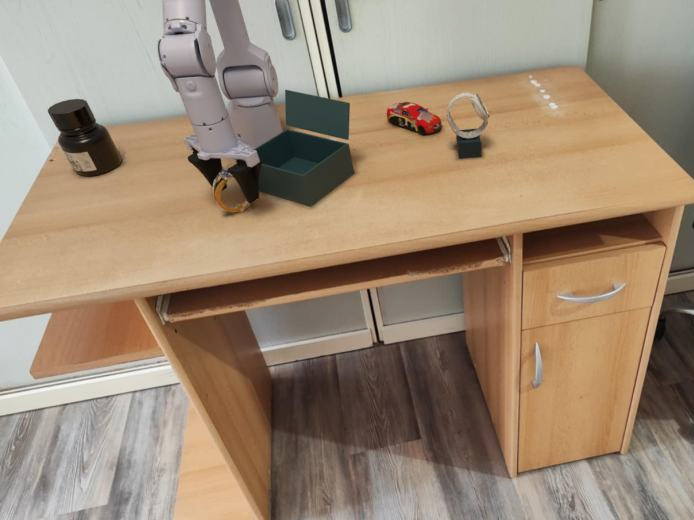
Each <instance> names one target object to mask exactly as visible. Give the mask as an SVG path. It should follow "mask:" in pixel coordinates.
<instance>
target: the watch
mask: <svg viewBox="0 0 694 520" xmlns="http://www.w3.org/2000/svg"><path fill="white" fill-rule="evenodd" d="M466 99H467V100H469V101H470V102H471V105H472V107H473V109H474V111H475V112H476V114H477V116H478V117H479V119H480V120H482V121H483V122H482V123H481V124H480V126H479V127H478V128H467V129H460V128H459V126H458V125H457V124H456V122H455V121H454V118H453V117H452V115H451V109H452V108H453V106H454V105H455V104H456V103H458V102H459V101H461V100H462V101H463V100H466ZM489 119H490V113H489V111H488V109H487V107H486V105H485V102H484V101H483V99H482V98H481V97H480V95H479V94H478V93H477V92H476V93H473V92H471V91H462V92H459V93H457V94H456V95H453V96H452V97H451V99H450V100H449V102H448V103H447V107H446V120H447V123H448V125H449V127H450V129H451V130H452V132H453V133H454V134H455V137H456V151H457V155H458V159H459V160H460V159H461V160H462V159H473V158H482V141H481V140H482V139H481V136H480V135H482V134H483V133H484V132H485V131H486V129H487V127H488V125H489Z"/></svg>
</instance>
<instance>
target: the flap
mask: <svg viewBox="0 0 694 520" xmlns="http://www.w3.org/2000/svg"><path fill="white" fill-rule="evenodd" d="M284 99H285V100H284V102H285V103H284V105H285V106H284V107H285V109H284V110H285V111H284V112H285V113H284V114H285V126H287V127H291V128H294V129H300V130H305V131H308V132H312V133H315V134H320V135H324V136H329V137H332V138H337V139H342V140H345V141H349V140H350V115H351V114H350V112H351V111H350V110H351V109H350V108H351V103H350V102H348V101H342V100H337V99H332V98H329V97H324V96H319V95H313V94H308V93H304V92H300V91H294V90H290V89H284Z"/></svg>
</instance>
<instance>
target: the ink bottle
mask: <svg viewBox="0 0 694 520" xmlns="http://www.w3.org/2000/svg"><path fill="white" fill-rule="evenodd" d="M47 113H48V115H49V117H50V118H51V121H52V122H53V125H54V126H55V128H56V129H57V131H58V132H59V136H58V138H57V142H58V144H59V146H60V148H61V150H62V152H63V153H64V155H65V157H66V159H67V160H68V163H69V164H70V166H71V167H72V170H73V171H74V172H75V173H76V174H78V175H80V176H87V177H89V176H98V175H102V174H103V173H106V172H109V171H111V170H113V169H115V168H117V167H118V166H119V165H120V164H121V162H122V156H121V155H120V151H119V150H118V148H117V146H116V144H115V142H114V140H113V138H112V136H111V133H110V132H109V130H108V129H107V128H106V127H105V126H104V125H102V124H99V123H98V122H97V120H96V119H97V118H96V117H95V115H94V112H93V111H92V109H91V107H90V104H89V103H88V101H87V100H86V99H83V98H72V99H71V98H70V99H66V100H62V101H59V102H56V103H54V104H53V105H51V106H49V108H47Z"/></svg>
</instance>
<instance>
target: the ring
mask: <svg viewBox="0 0 694 520" xmlns="http://www.w3.org/2000/svg"><path fill="white" fill-rule="evenodd" d="M232 166H233V165H232ZM232 166H230V167H232ZM230 167H229V166H226V168H225V167H223V166H222V170H221V171H220V172H219V173H218V174H217V176H216V177H215V179H214V182H213V188H212V196H213V199H214V200H215V202H216V203H217V205H218V206H219V207H220V208H221V209H222V210H224V211H226V212H229V213H236V212H237V213H238V212H239V213H242V212H244V211H245V209H247V208H248V207H250V205H251V204H252V203H248V202H247V200H246V199H245V201H243V203H238V204H236V206H228V205H225V204H224V203H223V202H222V200H221V193H222V192H223V191H222V189H223V187H224V186H225V184H226V183H227V184H228V182H229V180H230V179H232V178H234V177H233V176H232V175H231V174H230V173H229V172H228V170H227V169H228V168H230ZM221 178H224V179H223V180H222V181H221V182H220V183H219V181H220V179H221ZM218 183H219V184H218Z"/></svg>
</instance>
